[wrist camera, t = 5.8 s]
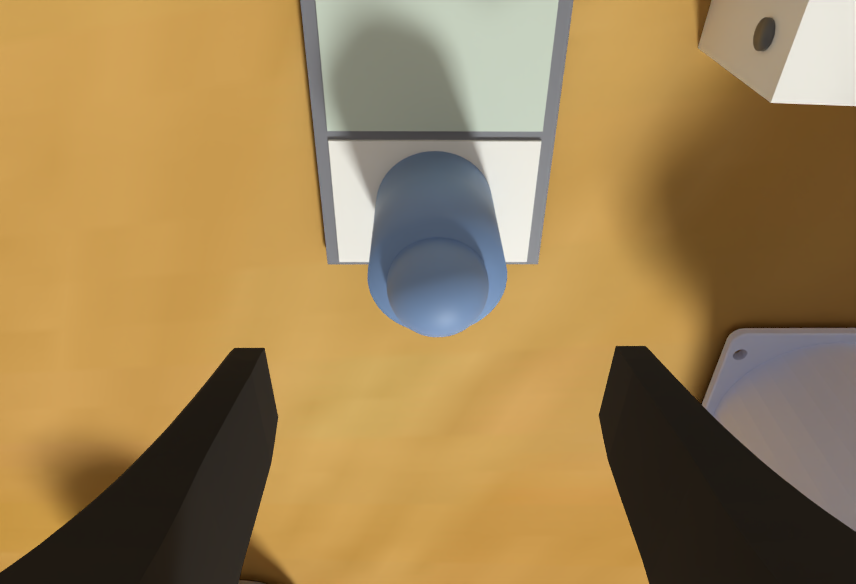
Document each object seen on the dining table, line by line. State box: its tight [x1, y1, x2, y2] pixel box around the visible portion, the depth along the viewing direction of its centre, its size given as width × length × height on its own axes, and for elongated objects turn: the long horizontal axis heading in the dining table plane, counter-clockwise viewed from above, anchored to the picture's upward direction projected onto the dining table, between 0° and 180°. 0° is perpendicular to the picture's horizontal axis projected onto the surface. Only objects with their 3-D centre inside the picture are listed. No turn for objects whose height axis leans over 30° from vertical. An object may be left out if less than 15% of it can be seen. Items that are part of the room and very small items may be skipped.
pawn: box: [368, 151, 507, 337], centre depth 17 cm, size 4×4×6 cm
